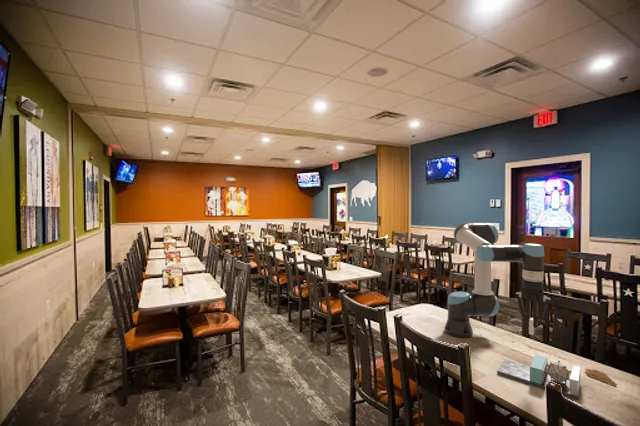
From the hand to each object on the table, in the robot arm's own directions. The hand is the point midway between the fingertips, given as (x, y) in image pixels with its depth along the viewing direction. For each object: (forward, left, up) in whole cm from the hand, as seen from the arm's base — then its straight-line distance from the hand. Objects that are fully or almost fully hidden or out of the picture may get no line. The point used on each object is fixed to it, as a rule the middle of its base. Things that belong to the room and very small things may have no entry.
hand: (531, 333), depth 135 cm
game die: (+2, +9, -18) cm, 20 cm away
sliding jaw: (+1, +3, -17) cm, 18 cm away
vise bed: (+1, +2, -19) cm, 19 cm away
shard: (-16, +26, -20) cm, 37 cm away
